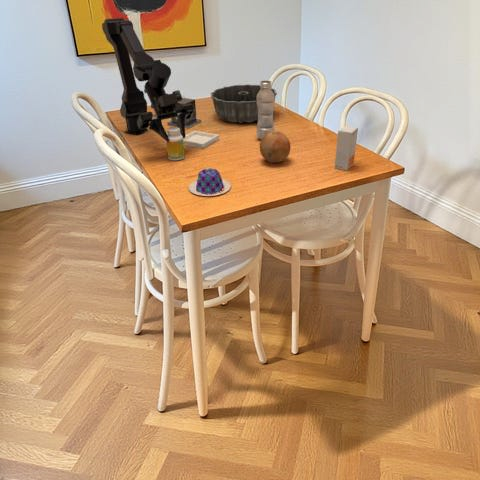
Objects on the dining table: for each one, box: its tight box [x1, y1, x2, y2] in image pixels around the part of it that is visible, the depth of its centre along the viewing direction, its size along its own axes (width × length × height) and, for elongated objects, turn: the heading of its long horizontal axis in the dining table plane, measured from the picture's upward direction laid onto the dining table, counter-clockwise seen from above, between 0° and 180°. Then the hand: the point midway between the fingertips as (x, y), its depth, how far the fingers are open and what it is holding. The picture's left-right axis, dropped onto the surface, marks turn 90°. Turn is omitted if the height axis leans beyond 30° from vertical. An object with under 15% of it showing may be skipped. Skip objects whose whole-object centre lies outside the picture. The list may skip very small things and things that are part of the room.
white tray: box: [183, 130, 220, 150], centre depth 162 cm, size 11×11×2 cm
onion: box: [259, 130, 291, 164], centre depth 144 cm, size 10×10×10 cm
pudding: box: [188, 167, 232, 197], centre depth 129 cm, size 12×12×5 cm
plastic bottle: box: [255, 80, 276, 141], centre depth 158 cm, size 6×7×20 cm
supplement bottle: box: [166, 126, 185, 161], centre depth 148 cm, size 5×5×10 cm
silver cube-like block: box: [166, 97, 202, 129], centre depth 179 cm, size 10×9×9 cm
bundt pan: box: [210, 84, 278, 124], centre depth 184 cm, size 26×26×10 cm
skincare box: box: [334, 125, 359, 171], centre depth 138 cm, size 6×4×12 cm
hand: (176, 139), depth 146 cm, fingers closed on supplement bottle, 5 cm apart
